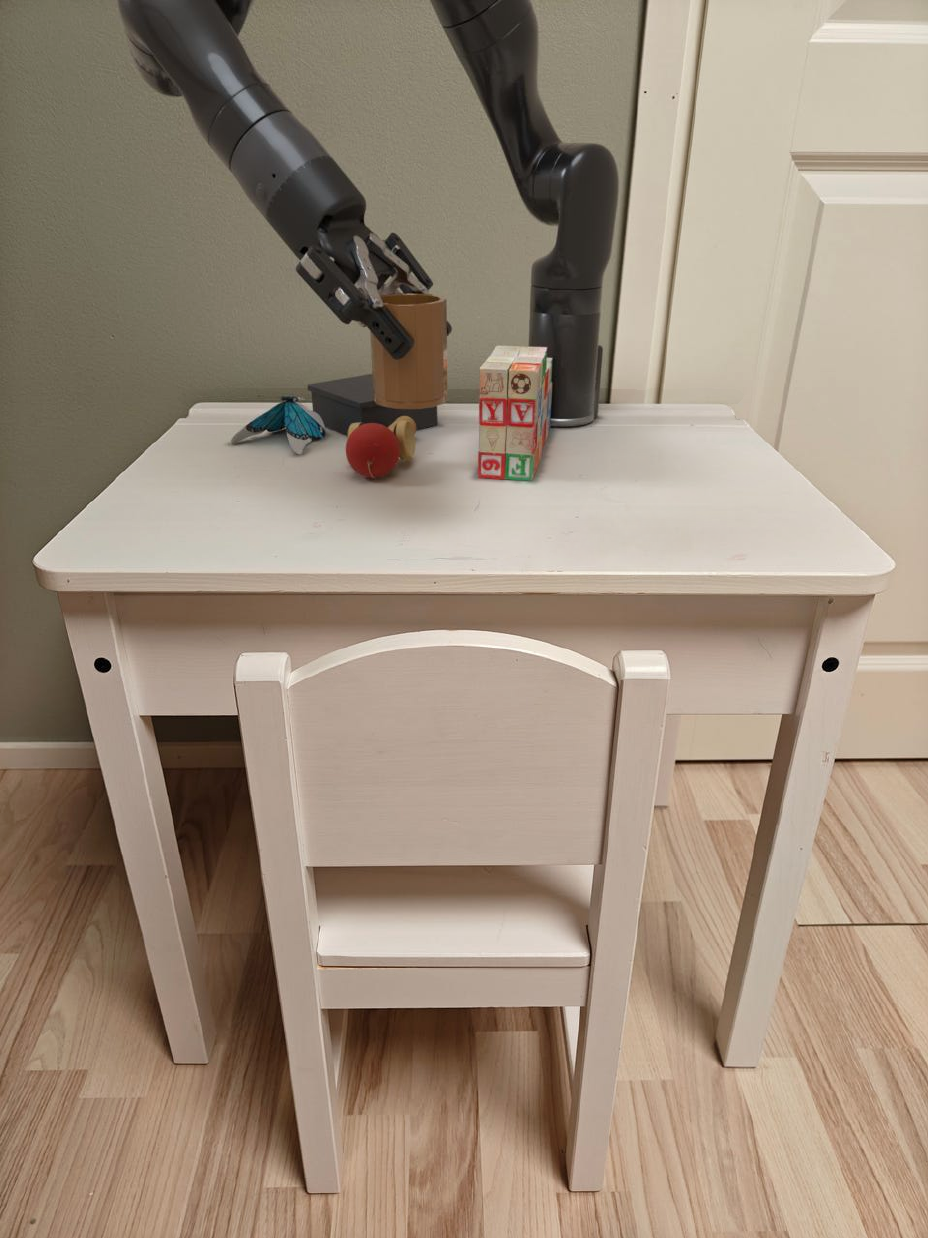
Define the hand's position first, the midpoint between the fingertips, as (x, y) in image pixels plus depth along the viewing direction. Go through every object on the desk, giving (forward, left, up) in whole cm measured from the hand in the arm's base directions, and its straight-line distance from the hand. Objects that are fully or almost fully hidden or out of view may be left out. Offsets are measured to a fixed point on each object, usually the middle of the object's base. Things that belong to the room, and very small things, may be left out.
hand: (425, 344), depth 74 cm
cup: (+1, -1, -5) cm, 5 cm away
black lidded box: (-18, -35, -18) cm, 44 cm away
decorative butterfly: (-5, -36, -18) cm, 41 cm away
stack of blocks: (-25, -14, -18) cm, 33 cm away
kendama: (-10, -21, -18) cm, 30 cm away
